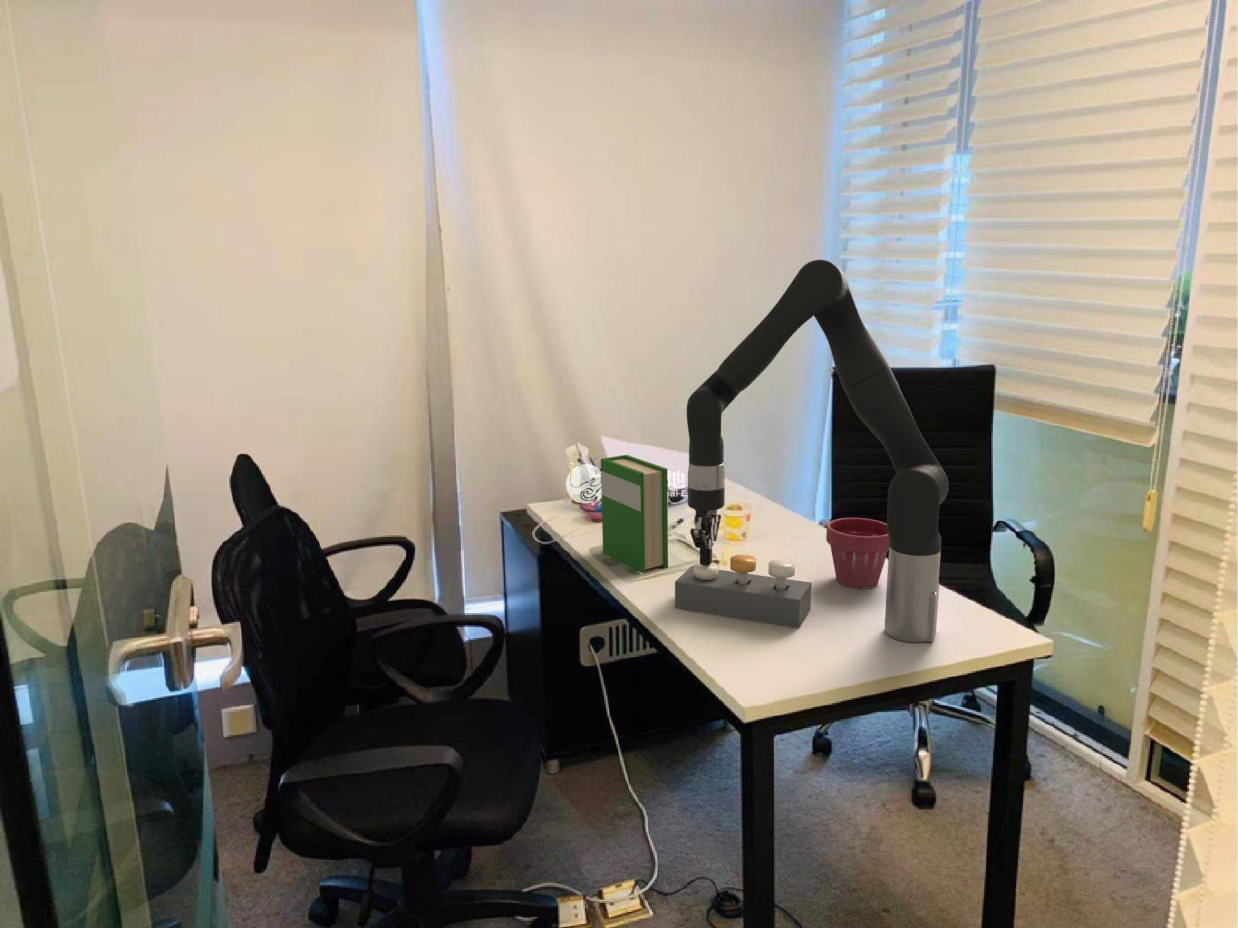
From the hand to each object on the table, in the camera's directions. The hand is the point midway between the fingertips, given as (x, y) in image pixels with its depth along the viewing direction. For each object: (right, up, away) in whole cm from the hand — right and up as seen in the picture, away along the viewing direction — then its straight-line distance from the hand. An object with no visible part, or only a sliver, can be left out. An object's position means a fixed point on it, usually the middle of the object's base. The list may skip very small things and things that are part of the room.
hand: (705, 564), depth 183 cm
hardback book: (-14, -2, +29) cm, 33 cm away
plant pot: (+35, -5, +13) cm, 38 cm away
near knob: (+15, -6, -5) cm, 17 cm away
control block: (+7, -9, -1) cm, 12 cm away
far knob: (0, -7, +2) cm, 7 cm away
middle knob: (+7, -5, -2) cm, 9 cm away
